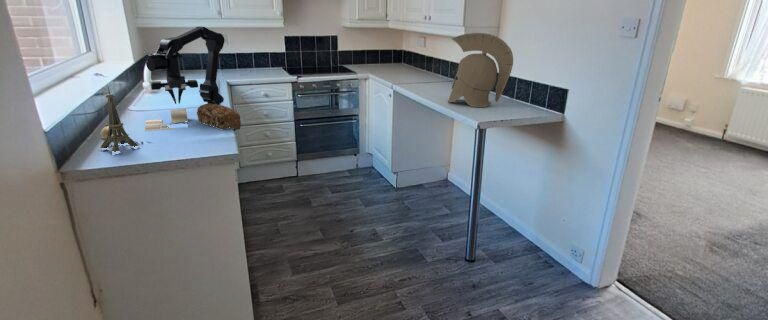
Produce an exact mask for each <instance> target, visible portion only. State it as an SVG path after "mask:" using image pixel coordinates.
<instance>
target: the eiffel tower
mask: <svg viewBox="0 0 768 320" xmlns="http://www.w3.org/2000/svg"><path fill="white" fill-rule="evenodd" d="M107 85H108V82H107ZM107 89H108V90H107V91H108V93H107V94H105V98H106V99H107V105H108V106H107V107H108V123H106V124H107V126H109V131H108V135H106V136H107V138H106V139H104V141H103V143H102V144H101V145H100V148H107V147H108V148H109V147H110V146H111V143H113V146H112V149H111V152H112V151H114V152H116V151H120V152H121V150H120V145H118V144H120V143H121V144H124V143H128V144H129V145H128V146H130V147H131V146H134V147H135V146H139V144H138V143H137V142H136V141H135V140H133V139H132V138H131V137H130V136H129V134H128V133H127V132H126V130H125V128H124V125H125V124H124V122H121V119H120V117H119V116H120V115H119V113H118V109H117V107H116V104H115V100H114V97H115V95H114V93H111V91H110V87H109V86H107ZM116 129H117V131H116ZM112 130H113V134H112ZM120 130H121V131H120ZM121 132H122V133H121ZM100 148H99V149H100Z"/></svg>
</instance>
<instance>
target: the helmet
mask: <svg viewBox="0 0 768 320" xmlns="http://www.w3.org/2000/svg"><path fill="white" fill-rule="evenodd" d="M451 40H452V41H453V42H455V43H456V44H457V45H458V46H459V47H460V49H461V51H462V52H463V53H465V52H472V51H473V52H481V53H470V54H468V55H467V56H466V55H465V57H463V58H461V59H460V61H459V64H458V69H457V72H456V74H455V76H454V80H453V83H452V85H451V92H450V95H449V98H448V99H447V102H448V103H454V102H455V101H457V100H459V99H460V98H462V97H463V99H464V101H465V102H466V104H467V105H469V106H471V107H474V108H486V107H490V106H491V105H492V102H490V100H489V98H490V97H489V96H490V93H491V91H492V90H494V88H495V97H494V101H495V102H496V103H498V101H499V100H500V98H501V97H502V94H503V93H504V90H505V87H506V85H507V83H508V81H509V78H510V76H511V73H512V70H513V66H514V55H513V52H512V49H511V47H510V46H509V45H508V44H507V42H505V41H504V40H503V39H501V38H500V37H498V36H496V35H494V34H490V33H486V32H471V33H464V34H461V35H457V36H454V37H452V38H451ZM489 55H490V56H492V57H493V58H494V59H495V61H496V62H495V61H494V59H493V58H492V57H490V56H489ZM496 64H497V65H496Z"/></svg>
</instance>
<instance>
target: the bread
mask: <svg viewBox="0 0 768 320" xmlns="http://www.w3.org/2000/svg"><path fill="white" fill-rule="evenodd" d="M196 116H197V121H198V122H201V123H200V124H202V123H205V124H208V125H211V126H214V127H217V128H220V129H224V128H229V127H233V128H234V129H235V130H234V131H237V130H240V129H241V123H242V121H241V115H240V114H239V113H238V112H237V111H236V110H234V109H233V108H231V107H228V106H225V105H221V104H220V105H217V104H211V103H210V104H208V103H205V104H202V105H201V104H200V106H199V107H198V108H197V112H196ZM205 124H204V125H205ZM208 125H207V126H208ZM220 129H219V130H220ZM229 129H230V128H229ZM224 130H225V129H224Z"/></svg>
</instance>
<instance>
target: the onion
mask: <svg viewBox="0 0 768 320" xmlns="http://www.w3.org/2000/svg"><path fill="white" fill-rule="evenodd" d="M107 124H108V123H104V127H103V128H102V129H101V131H100V137H101V139H102V140H106V138H107V136H106V135H108V131H109V126H107ZM116 131H117V129H116ZM120 131H121V130H120ZM121 133H122V132H121ZM112 134H113V130H112Z"/></svg>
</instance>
